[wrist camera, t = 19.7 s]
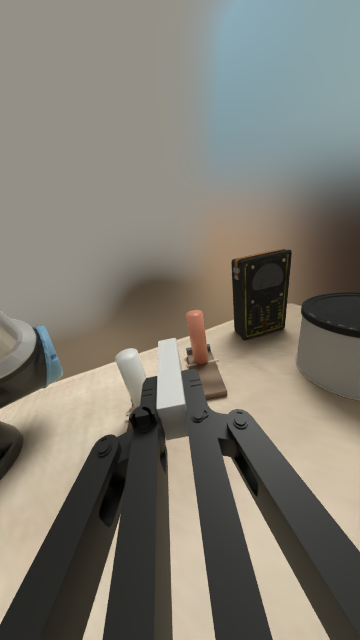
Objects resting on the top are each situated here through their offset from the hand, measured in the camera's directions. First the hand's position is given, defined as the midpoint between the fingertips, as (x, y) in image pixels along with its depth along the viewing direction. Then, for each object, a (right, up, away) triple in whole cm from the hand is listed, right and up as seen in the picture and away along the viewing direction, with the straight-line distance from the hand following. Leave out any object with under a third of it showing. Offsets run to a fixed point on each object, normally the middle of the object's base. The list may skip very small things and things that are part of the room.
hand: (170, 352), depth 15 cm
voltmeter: (+28, -1, +45) cm, 53 cm away
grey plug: (-6, -16, +22) cm, 28 cm away
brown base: (+7, -11, +31) cm, 34 cm away
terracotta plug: (+7, -8, +33) cm, 35 cm away
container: (+38, -8, +25) cm, 47 cm away
